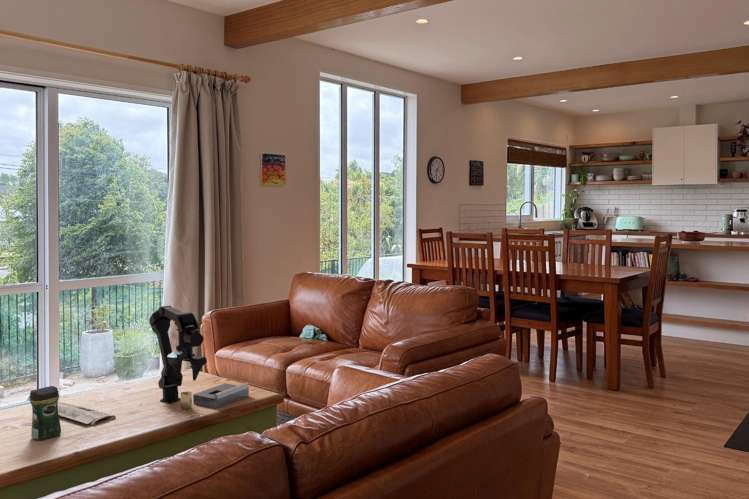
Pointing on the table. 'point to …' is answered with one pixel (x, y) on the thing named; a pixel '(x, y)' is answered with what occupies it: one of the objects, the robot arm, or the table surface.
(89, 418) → the newspaper
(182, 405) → the bushing
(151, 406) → the table surface
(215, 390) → the block
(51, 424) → the coffee jar
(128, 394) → the table surface
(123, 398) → the table surface
